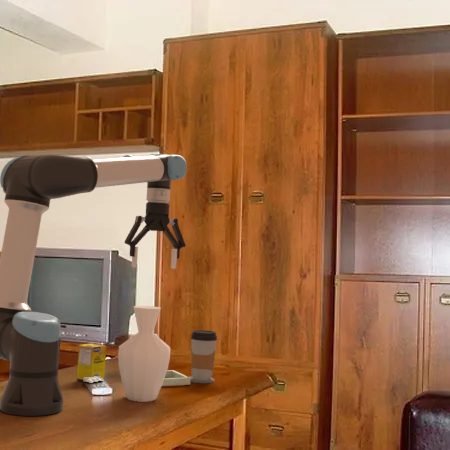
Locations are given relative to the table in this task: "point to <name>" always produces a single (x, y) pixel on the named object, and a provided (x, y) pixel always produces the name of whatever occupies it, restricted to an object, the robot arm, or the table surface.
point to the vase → (143, 358)
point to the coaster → (201, 381)
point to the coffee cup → (202, 354)
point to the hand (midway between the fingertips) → (154, 268)
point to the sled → (173, 376)
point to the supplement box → (91, 361)
